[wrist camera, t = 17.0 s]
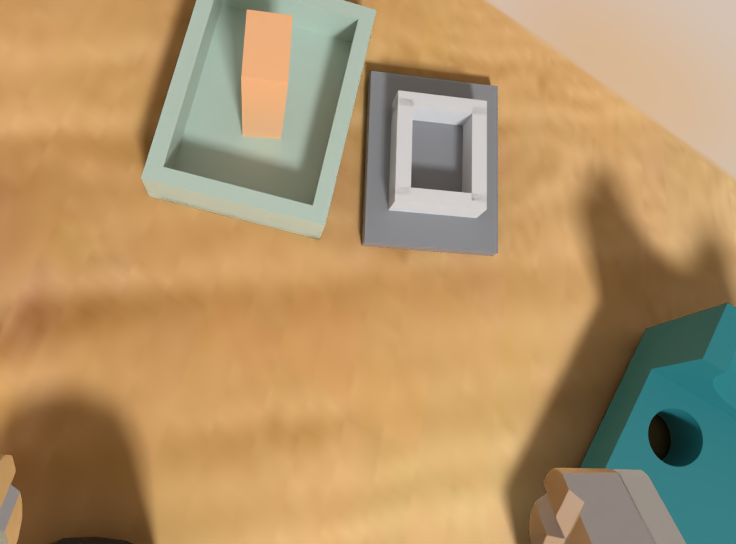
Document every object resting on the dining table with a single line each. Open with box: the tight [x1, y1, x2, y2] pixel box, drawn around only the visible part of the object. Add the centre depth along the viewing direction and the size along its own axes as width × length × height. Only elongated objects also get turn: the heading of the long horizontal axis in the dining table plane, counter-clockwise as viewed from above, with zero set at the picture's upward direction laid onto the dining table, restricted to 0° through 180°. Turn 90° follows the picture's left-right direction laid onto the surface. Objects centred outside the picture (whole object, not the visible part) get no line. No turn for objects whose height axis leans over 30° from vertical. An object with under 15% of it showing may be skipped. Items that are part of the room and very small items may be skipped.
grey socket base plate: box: [362, 71, 498, 256], centre depth 45 cm, size 9×12×3 cm
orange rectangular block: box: [241, 9, 293, 139], centre depth 40 cm, size 2×4×8 cm, turn 177°
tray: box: [141, 0, 376, 239], centre depth 43 cm, size 11×15×4 cm
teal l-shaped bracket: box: [580, 303, 736, 544], centre depth 39 cm, size 18×11×10 cm, turn 148°
